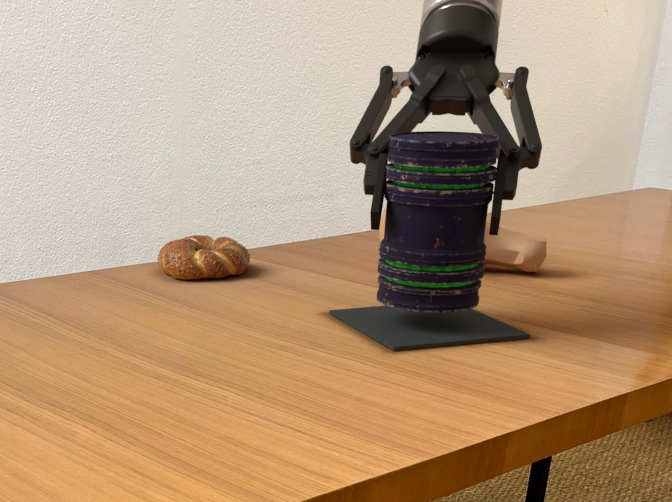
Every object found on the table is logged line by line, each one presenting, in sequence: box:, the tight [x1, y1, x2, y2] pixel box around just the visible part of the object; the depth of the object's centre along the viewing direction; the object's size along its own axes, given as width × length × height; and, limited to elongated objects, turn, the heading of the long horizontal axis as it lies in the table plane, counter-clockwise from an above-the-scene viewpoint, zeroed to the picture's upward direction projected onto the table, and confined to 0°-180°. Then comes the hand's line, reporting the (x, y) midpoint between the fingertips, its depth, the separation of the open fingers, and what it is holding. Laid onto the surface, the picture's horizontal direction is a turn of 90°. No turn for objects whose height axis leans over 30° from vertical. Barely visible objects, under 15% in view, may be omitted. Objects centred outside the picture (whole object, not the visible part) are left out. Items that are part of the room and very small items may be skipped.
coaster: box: [329, 305, 531, 352], centre depth 102 cm, size 14×14×1 cm
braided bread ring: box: [157, 234, 251, 281], centre depth 124 cm, size 12×11×4 cm
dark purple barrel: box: [376, 130, 499, 313], centre depth 98 cm, size 10×10×15 cm
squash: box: [378, 207, 548, 273], centre depth 125 cm, size 11×20×9 cm, turn 66°
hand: (433, 223), depth 95 cm, fingers closed on dark purple barrel, 10 cm apart
